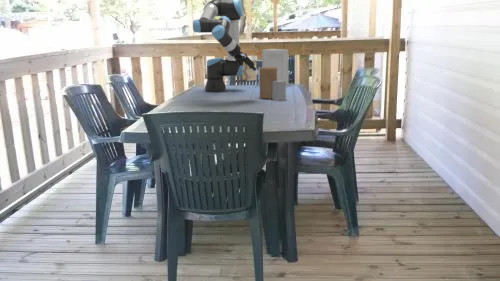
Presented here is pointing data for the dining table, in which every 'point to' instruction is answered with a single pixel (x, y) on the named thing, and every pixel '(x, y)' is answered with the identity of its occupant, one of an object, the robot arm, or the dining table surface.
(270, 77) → the block
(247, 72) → the oak block
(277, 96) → the grey block
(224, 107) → the dining table surface
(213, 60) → the robot arm
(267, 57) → the white tall box
